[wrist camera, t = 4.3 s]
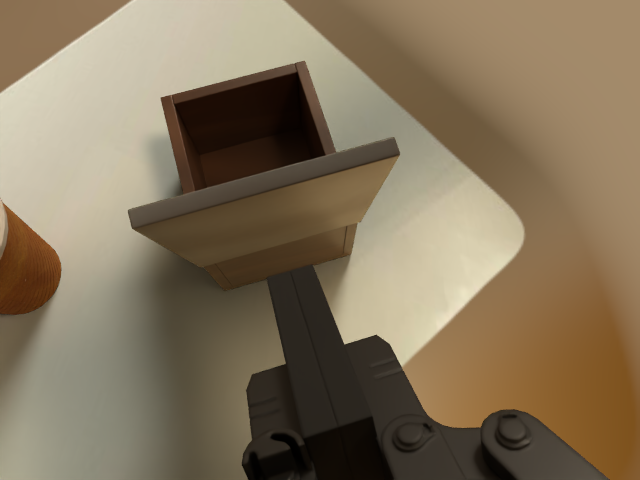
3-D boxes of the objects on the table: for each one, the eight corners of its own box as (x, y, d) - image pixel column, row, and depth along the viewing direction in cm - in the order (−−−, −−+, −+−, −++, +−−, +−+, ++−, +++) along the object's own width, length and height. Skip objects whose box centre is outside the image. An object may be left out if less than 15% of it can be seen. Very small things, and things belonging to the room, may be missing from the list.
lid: (126, 209, 20) (131, 229, 20) (394, 135, 20) (401, 154, 20) (196, 255, 33) (200, 267, 33) (357, 210, 34) (361, 221, 34)
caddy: (190, 153, 45) (160, 97, 37) (308, 122, 46) (305, 60, 38) (224, 291, 42) (200, 263, 33) (351, 254, 43) (358, 218, 34)
